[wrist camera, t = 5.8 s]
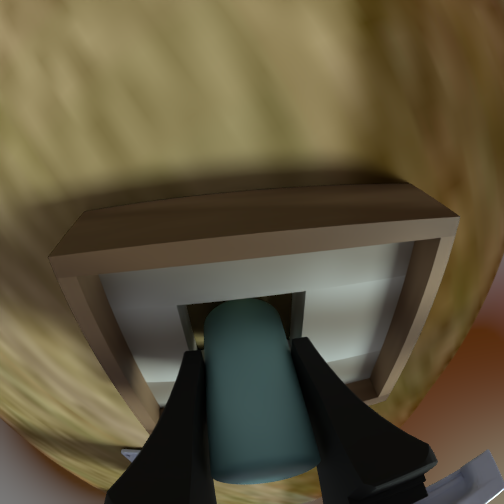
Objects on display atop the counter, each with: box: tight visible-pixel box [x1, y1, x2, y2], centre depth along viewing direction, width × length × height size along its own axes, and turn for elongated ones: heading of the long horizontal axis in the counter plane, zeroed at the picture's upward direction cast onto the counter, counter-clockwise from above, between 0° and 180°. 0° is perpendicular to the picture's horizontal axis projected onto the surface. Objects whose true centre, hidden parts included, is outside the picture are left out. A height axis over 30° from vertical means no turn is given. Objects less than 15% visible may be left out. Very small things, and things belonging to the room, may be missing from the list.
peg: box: [204, 298, 321, 484], centre depth 11 cm, size 4×4×7 cm
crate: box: [48, 184, 460, 435], centre depth 13 cm, size 12×14×4 cm
